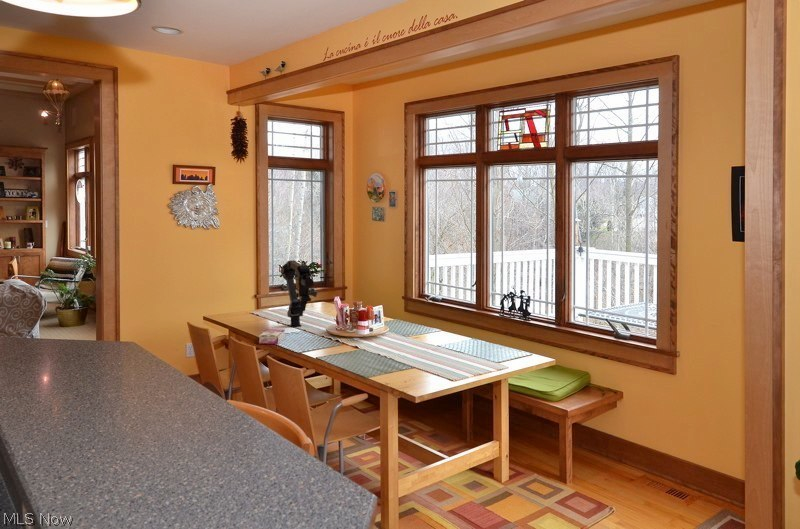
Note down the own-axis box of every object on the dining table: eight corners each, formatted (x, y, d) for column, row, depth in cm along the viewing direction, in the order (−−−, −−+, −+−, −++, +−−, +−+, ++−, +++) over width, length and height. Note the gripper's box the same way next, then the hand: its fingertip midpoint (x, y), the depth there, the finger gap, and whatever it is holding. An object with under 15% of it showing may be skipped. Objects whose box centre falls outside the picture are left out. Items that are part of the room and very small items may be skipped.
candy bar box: (267, 337, 377) (258, 343, 361) (266, 329, 377) (258, 335, 360) (285, 337, 376) (277, 344, 360) (285, 329, 375) (277, 335, 359)
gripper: (319, 286, 386) (320, 312, 387) (313, 282, 403) (313, 307, 405) (300, 288, 382) (301, 313, 384) (295, 284, 400) (296, 308, 401)
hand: (303, 310), depth 394 cm, fingers closed
